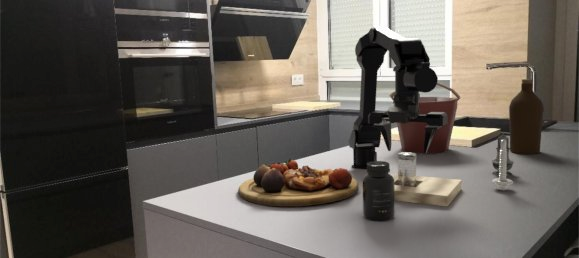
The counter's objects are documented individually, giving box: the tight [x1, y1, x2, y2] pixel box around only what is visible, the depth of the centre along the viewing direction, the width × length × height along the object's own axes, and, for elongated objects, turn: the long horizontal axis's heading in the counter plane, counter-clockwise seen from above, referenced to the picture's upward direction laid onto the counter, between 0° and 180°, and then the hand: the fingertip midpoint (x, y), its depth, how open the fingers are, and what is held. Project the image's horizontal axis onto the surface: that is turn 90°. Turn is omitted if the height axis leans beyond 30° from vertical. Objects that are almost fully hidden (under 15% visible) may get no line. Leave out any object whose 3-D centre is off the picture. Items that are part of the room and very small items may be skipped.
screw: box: [491, 139, 514, 192], centre depth 124 cm, size 13×5×5 cm
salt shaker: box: [491, 132, 515, 177], centre depth 139 cm, size 6×6×12 cm
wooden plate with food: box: [237, 158, 359, 207], centre depth 130 cm, size 32×32×8 cm
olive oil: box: [508, 78, 545, 155], centre depth 168 cm, size 11×11×25 cm
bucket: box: [389, 81, 461, 155], centre depth 179 cm, size 24×22×25 cm
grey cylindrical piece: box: [397, 151, 417, 187], centre depth 124 cm, size 5×5×10 cm
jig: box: [390, 173, 462, 207], centre depth 123 cm, size 18×16×2 cm
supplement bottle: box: [362, 160, 396, 222], centre depth 106 cm, size 7×7×12 cm
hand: (407, 152), depth 123 cm, fingers open, 9 cm apart
